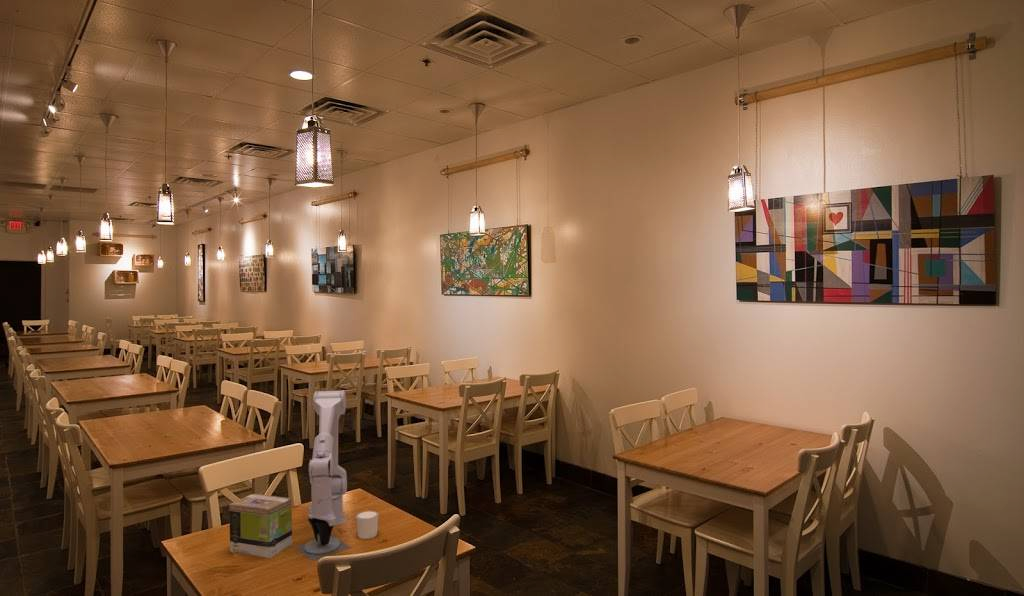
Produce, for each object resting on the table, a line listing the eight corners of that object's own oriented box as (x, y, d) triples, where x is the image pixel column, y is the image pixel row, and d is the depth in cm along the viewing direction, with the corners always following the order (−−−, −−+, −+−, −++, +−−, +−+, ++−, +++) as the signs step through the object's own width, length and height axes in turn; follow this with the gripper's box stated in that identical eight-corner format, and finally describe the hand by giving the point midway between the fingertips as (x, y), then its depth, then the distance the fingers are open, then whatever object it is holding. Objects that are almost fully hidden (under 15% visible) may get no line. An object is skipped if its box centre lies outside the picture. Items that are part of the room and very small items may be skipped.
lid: (298, 546, 172) (298, 533, 172) (330, 536, 179) (329, 523, 179) (314, 558, 165) (313, 544, 165) (346, 546, 172) (345, 533, 172)
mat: (294, 549, 172) (294, 547, 172) (331, 536, 181) (331, 534, 181) (312, 562, 164) (312, 560, 164) (350, 549, 172) (350, 547, 172)
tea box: (293, 545, 175) (292, 497, 174) (269, 560, 165) (268, 509, 165) (254, 538, 180) (253, 491, 179) (228, 553, 170) (227, 503, 170)
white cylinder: (373, 542, 176) (372, 519, 176) (352, 540, 178) (352, 518, 178) (382, 532, 183) (382, 511, 183) (362, 531, 185) (362, 509, 184)
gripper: (298, 494, 174) (298, 538, 175) (320, 507, 164) (320, 554, 164) (320, 488, 179) (320, 531, 179) (342, 500, 169) (343, 546, 169)
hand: (322, 542), depth 172 cm, fingers closed on lid, 3 cm apart
